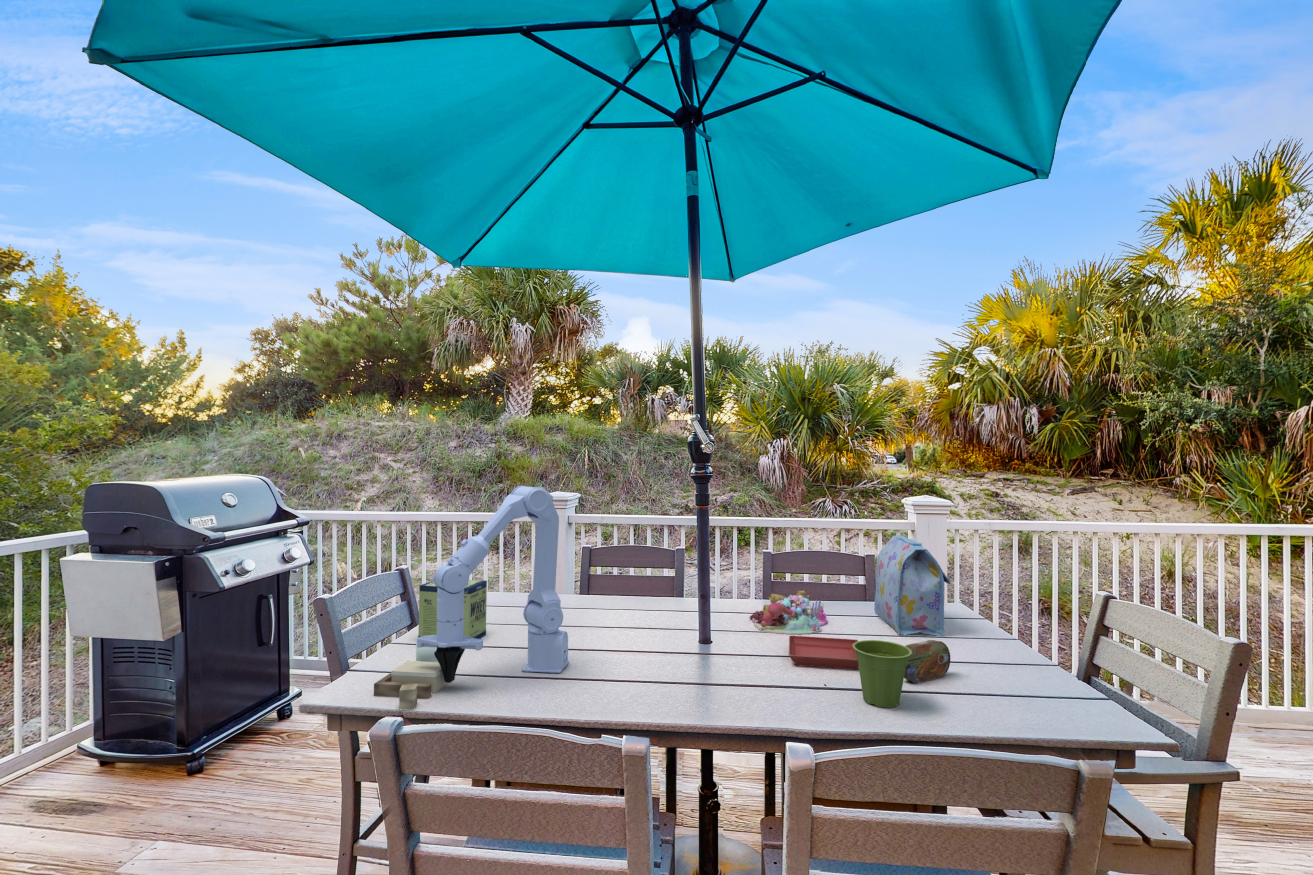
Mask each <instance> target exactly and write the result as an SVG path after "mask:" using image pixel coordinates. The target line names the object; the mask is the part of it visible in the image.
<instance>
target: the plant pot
mask: <svg viewBox="0 0 1313 875" xmlns="http://www.w3.org/2000/svg"><path fill="white" fill-rule="evenodd" d="M852 646H853V648H854V649H855V652H856V658H857V660H858V665H859V667H858V671H859V678H860V685H861V693H862V699H863V701H864V702H865V703H867V704H870V705H872V704H873V705H875V706H876V707H879V708H889V709H890V708H895V707H896V706H897V705H900V702H901V701H900V700H901V696H902V691H903V685H904V679H905V678H904V675H905V669H906V666H907V664H908V659H909V656H911V654H912V651H911V650H910V649H909V648H908V647H906V645H903V644H900V643H897V642H893V641H889V640H888V641H887V640H881V639H879V640H877V639H876V640H875V639H863V640H858V642H855V643H854V644H853V645H852Z"/></svg>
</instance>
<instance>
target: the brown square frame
mask: <svg viewBox="0 0 1313 875" xmlns="http://www.w3.org/2000/svg"><path fill="white" fill-rule="evenodd" d="M410 684H417V699H425V700H427V699H429V698H430V697H431V696H432V693H431V686H432V684H420V683H401V682H392V675H391V672H389V673H388V674H387V675H385V676H384V677H382V678H381V679H379V680H377V681H376V682H374V684H373V697H374V696H377V697H378V696H379V697H390V698H391V697H394V698H399V691H400V688H401V686H402V685H410Z"/></svg>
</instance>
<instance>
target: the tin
mask: <svg viewBox="0 0 1313 875" xmlns="http://www.w3.org/2000/svg"><path fill="white" fill-rule="evenodd" d="M905 646H906V647H908V648H909V649H910V650H911V651H912V654H911V656H909V659H908V664H907V666H906V669H905V675H904V679H905V680H907V681H909V682H912V683H915V684H920V683H924V682H928V681H932V680H936V679H940V678H942V677H944V676H945V675H946V674H947V673H948V672H949V668H950V666H951V652H950V649H949V647H948V646H947V644H946V643H944V642H943V641H940V640H939V641H938V640H934V639H929V640H924V641H918V642H915V643H910V644H907V645H905Z"/></svg>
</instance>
